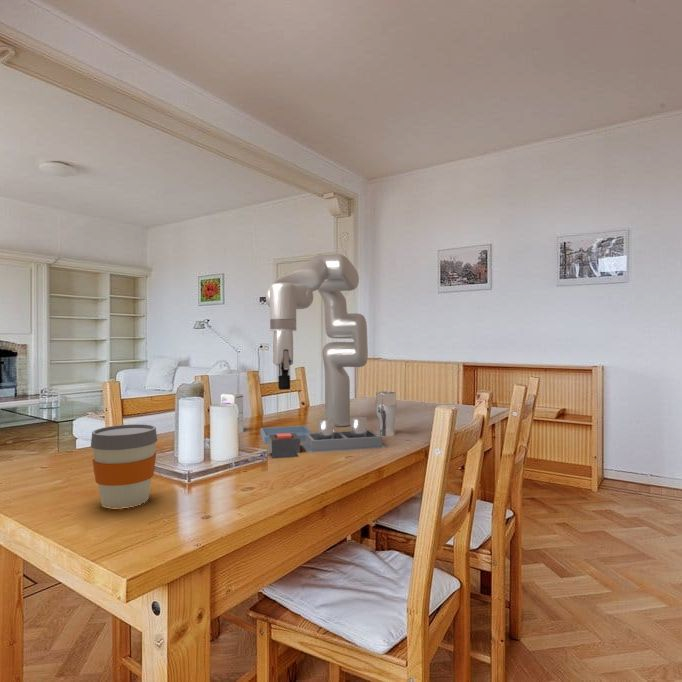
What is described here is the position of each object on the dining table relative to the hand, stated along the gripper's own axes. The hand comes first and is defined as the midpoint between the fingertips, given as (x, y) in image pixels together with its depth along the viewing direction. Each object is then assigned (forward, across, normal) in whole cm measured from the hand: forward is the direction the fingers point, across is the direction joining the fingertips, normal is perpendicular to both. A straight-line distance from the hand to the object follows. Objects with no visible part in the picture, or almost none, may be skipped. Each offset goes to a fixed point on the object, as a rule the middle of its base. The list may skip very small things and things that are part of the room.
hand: (284, 389), depth 141 cm
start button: (+16, +1, 0) cm, 16 cm away
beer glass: (+20, -13, +36) cm, 43 cm away
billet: (+18, -1, +13) cm, 22 cm away
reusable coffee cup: (+18, +33, -37) cm, 53 cm away
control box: (+19, +1, 0) cm, 19 cm away
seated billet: (+18, -1, +23) cm, 29 cm away
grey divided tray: (+19, -1, +18) cm, 26 cm away
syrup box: (+19, -29, -14) cm, 38 cm away
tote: (+19, -17, +3) cm, 26 cm away
